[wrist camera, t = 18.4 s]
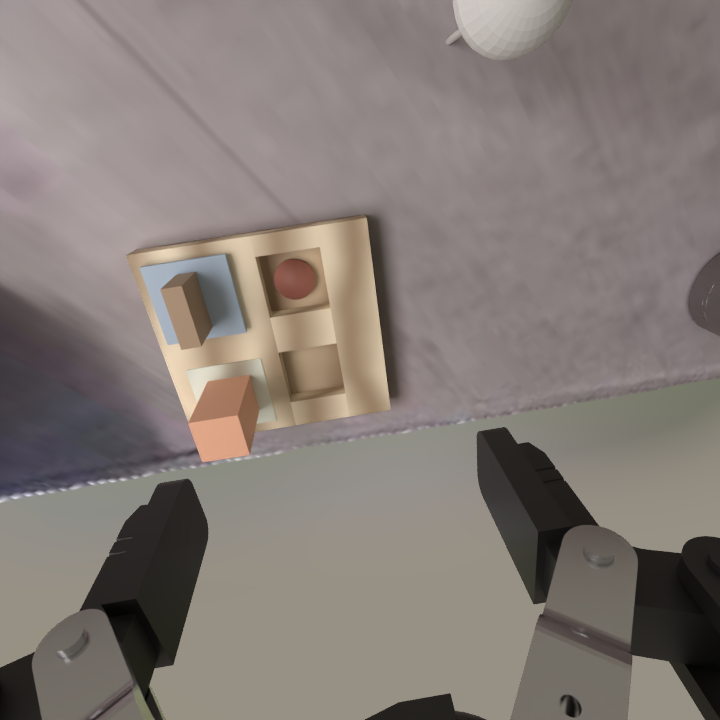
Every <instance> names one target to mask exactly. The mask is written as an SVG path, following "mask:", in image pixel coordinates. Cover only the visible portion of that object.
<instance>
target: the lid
mask: <svg viewBox="0 0 720 720" xmlns="http://www.w3.org/2000/svg"><path fill="white" fill-rule="evenodd" d="M140 271H141V273H142V276H143V279H144V282H145V284H146V287H147V290H148V293H149V295H150V298H151V301H152V304H153V306H154V309H155V312H156V315H157V317H158V320H159V323H160V326H161V328H162V331H163V334H164V336H165V339H166V342H167V345H172V344H179V345H180V348H181V350H184V349H190V348H197V347H202V345H203V343H204V341H205V340H206V339H210V338H216V337H223V336H229V335H235V334H241V333H246V332H247V329H246V325H245V321H244V318H243V314H242V310H241V307H240V303H239V299H238V296H237V292H236V288H235V285H234V281H233V277H232V274H231V270H230V266H229V263H228V259H227V255H226V253H223V254H217V255H211V256H204V257H198V258H191V259H185V260H179V261H172V262H166V263H159V264H153V265H147V266H141V267H140Z"/></svg>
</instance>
